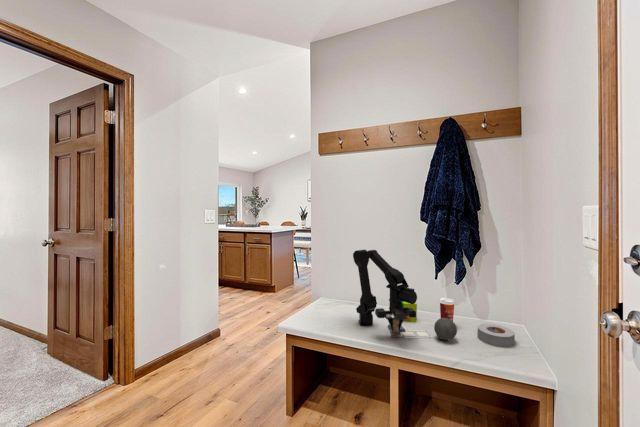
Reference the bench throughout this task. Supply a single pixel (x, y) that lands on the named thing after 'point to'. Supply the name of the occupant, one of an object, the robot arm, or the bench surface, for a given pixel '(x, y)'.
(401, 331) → the ink pad
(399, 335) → the stamp
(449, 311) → the paper cup
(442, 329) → the decorative ball
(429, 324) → the bench surface
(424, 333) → the print card
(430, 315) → the bench surface
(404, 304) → the puzzle toy
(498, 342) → the tape roll
